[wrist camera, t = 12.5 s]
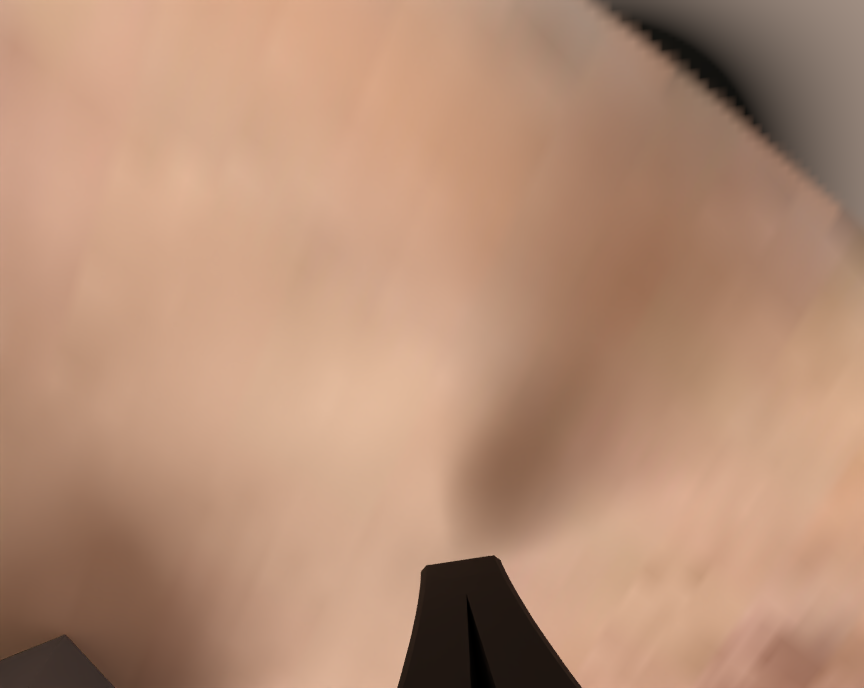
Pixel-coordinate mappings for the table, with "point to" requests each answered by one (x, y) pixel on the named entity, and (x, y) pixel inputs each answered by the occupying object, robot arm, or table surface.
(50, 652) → the dark grey block
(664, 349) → the table surface
